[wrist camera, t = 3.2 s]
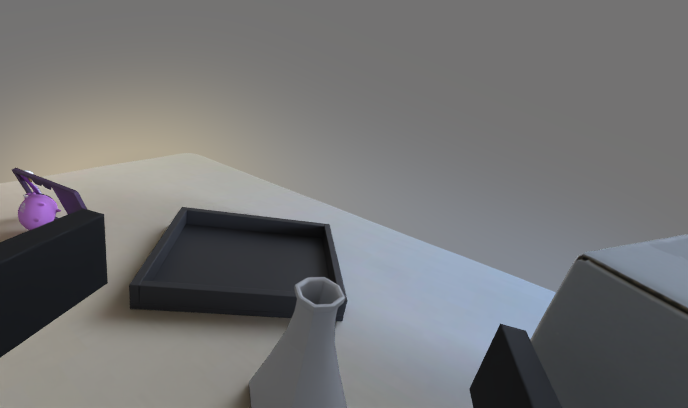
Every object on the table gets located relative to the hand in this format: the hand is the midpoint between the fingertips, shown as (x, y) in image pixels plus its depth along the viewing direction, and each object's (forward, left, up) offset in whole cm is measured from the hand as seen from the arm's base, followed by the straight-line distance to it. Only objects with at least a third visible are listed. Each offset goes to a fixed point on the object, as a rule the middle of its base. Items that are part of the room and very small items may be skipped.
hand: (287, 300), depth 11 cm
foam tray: (+2, -26, -16) cm, 31 cm away
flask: (-3, -9, -17) cm, 19 cm away
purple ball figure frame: (+24, -29, -17) cm, 41 cm away
